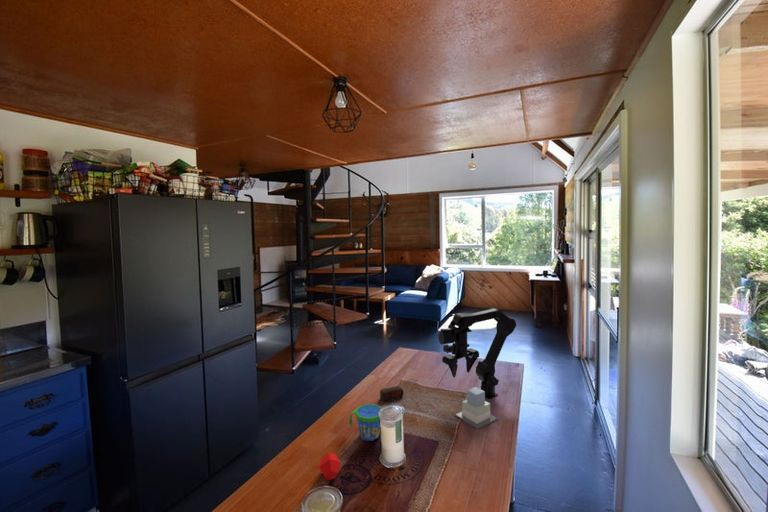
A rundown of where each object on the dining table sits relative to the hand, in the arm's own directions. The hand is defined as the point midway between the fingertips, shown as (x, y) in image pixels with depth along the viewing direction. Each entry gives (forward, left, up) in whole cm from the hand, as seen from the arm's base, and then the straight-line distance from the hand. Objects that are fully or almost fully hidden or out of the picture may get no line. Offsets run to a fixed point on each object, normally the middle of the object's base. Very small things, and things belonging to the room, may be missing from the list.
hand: (461, 374), depth 152 cm
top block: (+6, +14, -5) cm, 16 cm away
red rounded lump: (+70, +9, -12) cm, 72 cm away
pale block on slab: (+6, +14, -12) cm, 19 cm away
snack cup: (+49, -1, -12) cm, 51 cm away
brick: (+25, -20, -12) cm, 35 cm away
